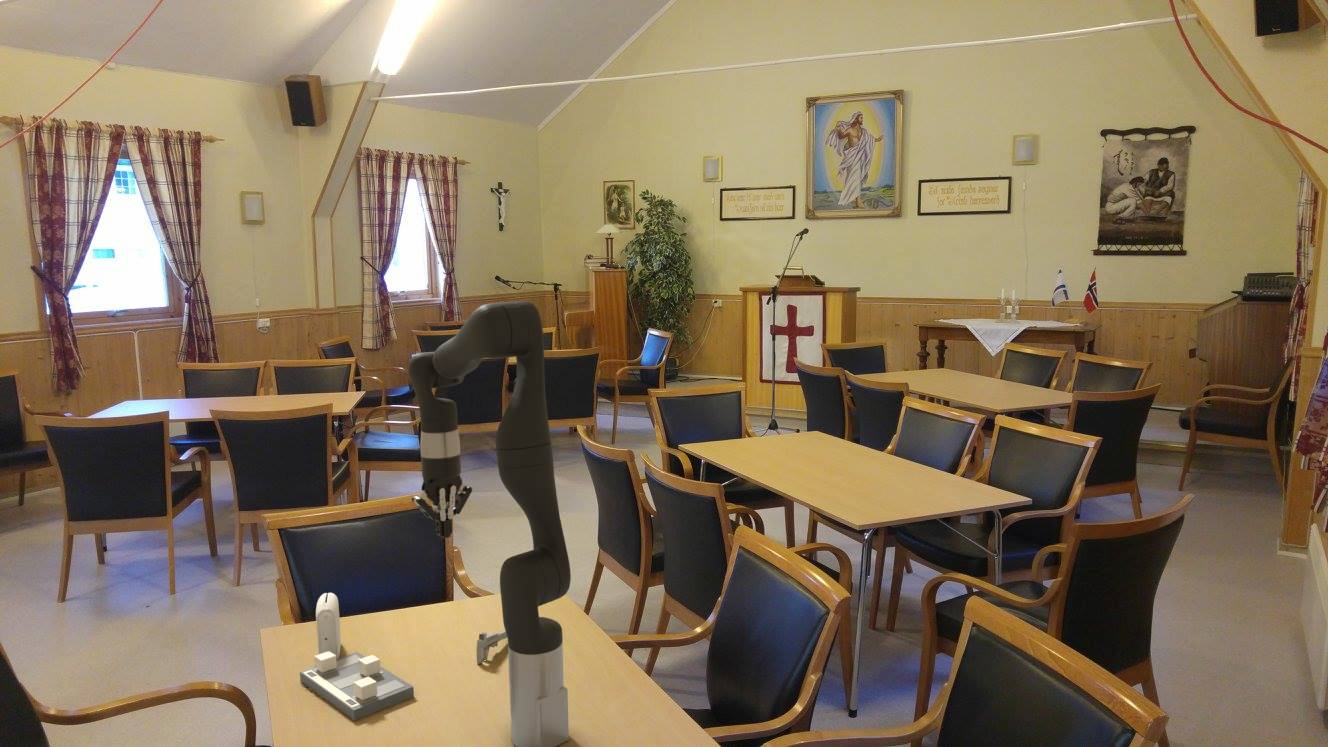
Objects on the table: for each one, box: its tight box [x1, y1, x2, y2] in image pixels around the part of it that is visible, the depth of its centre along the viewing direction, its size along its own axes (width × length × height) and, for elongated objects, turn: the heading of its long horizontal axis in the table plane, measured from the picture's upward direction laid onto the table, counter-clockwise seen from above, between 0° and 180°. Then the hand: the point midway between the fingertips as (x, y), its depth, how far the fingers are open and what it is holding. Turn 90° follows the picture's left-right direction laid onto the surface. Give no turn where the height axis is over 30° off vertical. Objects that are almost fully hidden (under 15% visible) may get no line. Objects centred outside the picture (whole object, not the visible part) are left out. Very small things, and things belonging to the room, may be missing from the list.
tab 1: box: [313, 651, 337, 673], centre depth 177 cm, size 3×3×2 cm
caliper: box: [475, 629, 508, 665], centre depth 192 cm, size 20×1×6 cm, turn 161°
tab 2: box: [354, 677, 377, 700], centre depth 166 cm, size 3×3×2 cm
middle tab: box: [358, 654, 382, 677], centre depth 175 cm, size 3×3×2 cm
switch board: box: [299, 651, 415, 721], centre depth 173 cm, size 22×12×2 cm, turn 46°
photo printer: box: [315, 592, 342, 659], centre depth 188 cm, size 10×4×12 cm, turn 17°
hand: (444, 537), depth 179 cm, fingers closed
